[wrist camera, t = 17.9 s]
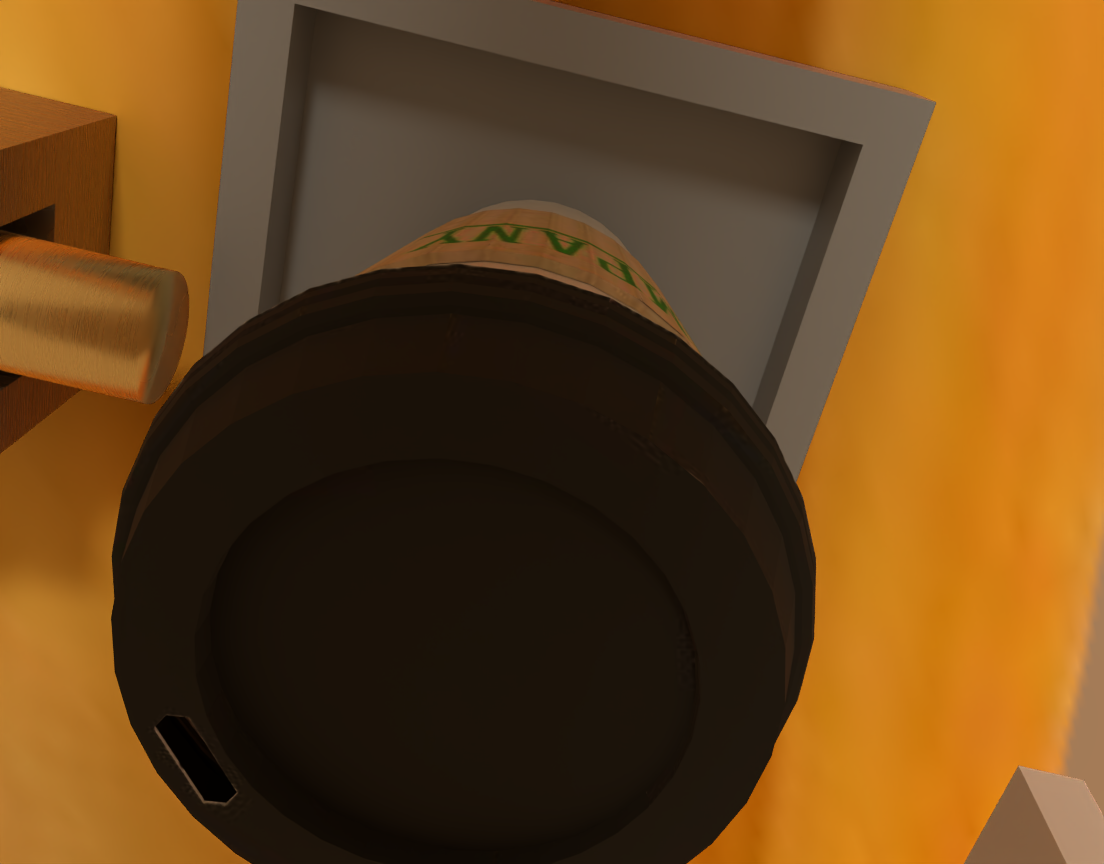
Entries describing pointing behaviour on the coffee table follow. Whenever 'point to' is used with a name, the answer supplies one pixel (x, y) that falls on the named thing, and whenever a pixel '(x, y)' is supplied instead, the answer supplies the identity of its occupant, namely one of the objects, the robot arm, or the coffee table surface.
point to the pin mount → (51, 212)
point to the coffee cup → (463, 566)
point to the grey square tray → (567, 167)
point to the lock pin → (89, 318)
